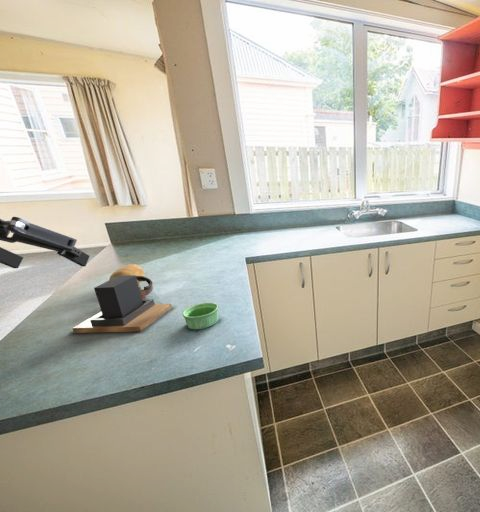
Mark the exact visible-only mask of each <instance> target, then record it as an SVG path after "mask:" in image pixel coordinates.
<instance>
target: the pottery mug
mask: <svg viewBox="0 0 480 512" xmlns="http://www.w3.org/2000/svg"><path fill="white" fill-rule="evenodd" d="M136 279H137V280H138V281H141V282H146V283H147V284H148V285H146V286H143V289H141V286H139V290H140V293H141V297H142V300H144V299H145V298H146V297H147V296H148V295H149V294H151V292H152V291H153V290H154V286H153V280H151V279H150V278H149V277H146V276H144V277H143V276H136Z"/></svg>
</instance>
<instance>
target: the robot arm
mask: <svg viewBox="0 0 480 512" xmlns="http://www.w3.org/2000/svg"><path fill="white" fill-rule="evenodd" d="M10 233H11V234H12V235H11V236H9V234H10ZM0 241H2V242H6V243H10V244H14V243H21V244H25V245H28V246H33V247H38V248H40V249H42V248H43V249H46V250H49V251H55V252H57V253H56V254H57V255H58V256H60V257H63V258H65V259H66V260H69V261H70V262H72V263H74V264H76V265H78V266H80V267H86V266H87V264H88V261H89V259H90V257H91V256H90V255H89V254H87V253H86V252H84V251H83V250H81V249H79V248H78V247H76V243H77V241H78V239H76V238H73V237H72V236H69V235H68V236H67V235H65V234H63V233H60V232H57V231H53V230H51V229H48V228H45V227H42V226H40V225H37V224H34V223H31V222H29V221H28V220H25V219H22V218H21V217H18V216H12V217H11V219H10V220H5V219H2V218H0ZM23 259H24V257H23V256H21V255H18V254H17V253H14V252H12V251H10V250H8V249H6V248H4V247H1V246H0V264H2V265H3V266H4V265H5V266H7V267H10V268H12V269H19V268H20V265H21V263H22V261H23Z"/></svg>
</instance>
